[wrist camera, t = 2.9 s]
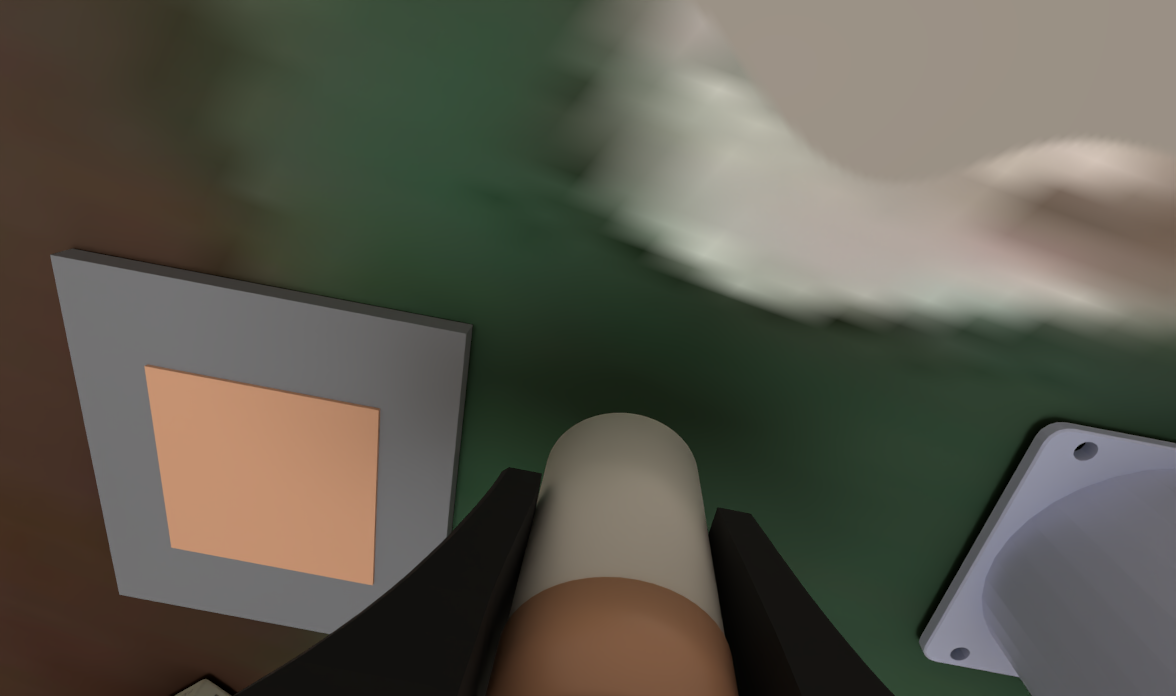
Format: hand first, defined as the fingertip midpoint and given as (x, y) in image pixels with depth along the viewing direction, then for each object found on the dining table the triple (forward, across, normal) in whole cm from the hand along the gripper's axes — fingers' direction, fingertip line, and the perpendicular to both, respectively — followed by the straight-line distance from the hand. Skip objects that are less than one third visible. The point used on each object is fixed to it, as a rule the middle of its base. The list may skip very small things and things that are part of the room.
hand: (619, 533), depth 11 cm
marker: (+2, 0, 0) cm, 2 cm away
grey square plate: (+5, +9, +4) cm, 11 cm away
